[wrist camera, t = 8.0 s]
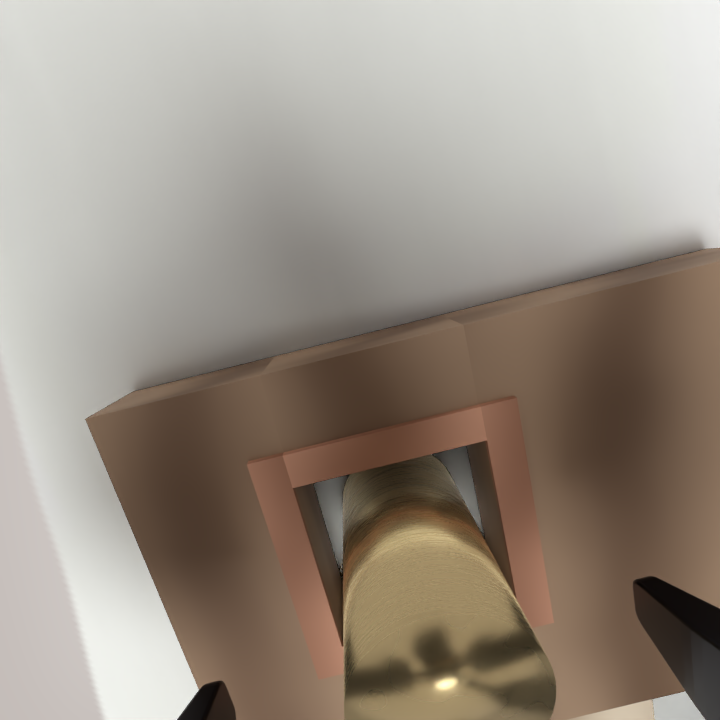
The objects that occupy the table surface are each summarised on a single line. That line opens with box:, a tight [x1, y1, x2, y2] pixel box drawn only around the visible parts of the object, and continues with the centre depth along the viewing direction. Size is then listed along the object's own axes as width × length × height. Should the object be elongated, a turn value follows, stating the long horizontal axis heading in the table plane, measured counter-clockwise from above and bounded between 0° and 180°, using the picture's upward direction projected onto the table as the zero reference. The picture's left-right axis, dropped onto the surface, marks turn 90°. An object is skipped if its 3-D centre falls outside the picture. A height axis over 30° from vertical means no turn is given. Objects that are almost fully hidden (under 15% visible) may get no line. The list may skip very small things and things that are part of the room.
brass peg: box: [343, 454, 556, 720], centre depth 11 cm, size 4×4×7 cm
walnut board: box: [85, 248, 720, 720], centre depth 14 cm, size 19×23×3 cm
